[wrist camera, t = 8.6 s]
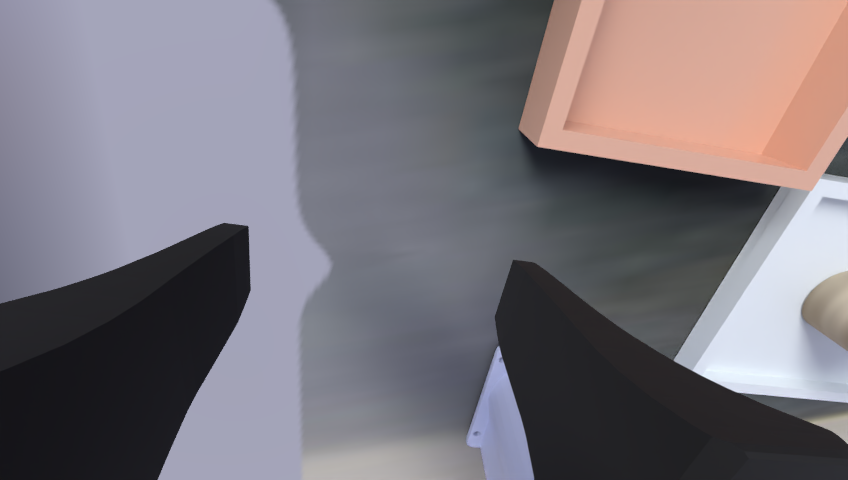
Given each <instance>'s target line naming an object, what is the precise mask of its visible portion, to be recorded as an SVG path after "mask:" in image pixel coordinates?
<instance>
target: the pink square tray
mask: <svg viewBox="0 0 848 480" xmlns="http://www.w3.org/2000/svg"><path fill="white" fill-rule="evenodd" d="M519 130H520V131H521V132H522V133H523V134H524V135H525V136H526V137H527V138H528V139H530V140H531V141H532V142H533V143H534V144H535V145H536V146H537V147H542V148H548V149H554V150H560V151H566V152H572V153H579V154H585V155H591V156H597V157H603V158H609V159H616V160H622V161H628V162H634V163H640V164H647V165H653V166H659V167H665V168H671V169H677V170H684V171H690V172H696V173H702V174H708V175H714V176H721V177H727V178H733V179H739V180H745V181H751V182H758V183H764V184H770V185H776V186H782V187H789V188H795V189H801V190H807V191H812V190H813V188H814V187H815V185H816V184H817V182H818V181H819V179H820V178H821V176H822V175H823V173H824V172H825V170H826V169H827V167H828V166H829V164H830V163H831V161H832V160H833V158H834V156H835V155H836V153H837V152H838V150H839V149H840V147H841V146H842V144H843V143H844V141H845V140H846V138H847V137H848V0H554V2H553V6H552V10H551V13H550V17H549V21H548V24H547V28H546V31H545V35H544V39H543V42H542V46H541V49H540V53H539V57H538V60H537V64H536V67H535V71H534V75H533V78H532V82H531V86H530V89H529V93H528V96H527V100H526V104H525V107H524V111H523V114H522V118H521V122H520V125H519Z"/></svg>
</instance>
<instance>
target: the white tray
mask: <svg viewBox="0 0 848 480" xmlns="http://www.w3.org/2000/svg"><path fill="white" fill-rule="evenodd" d="M845 271H848V178H847V177H841V176H835V175H829V174H823V175H822V176H821V178H820V179H819V181H818V182H817V184H816V185H815V187H814V188H813V190H812V191H807V190H801V189H795V188H789V187H782V186H781V187H780V189H779V190H778V192H777V194H776V195H775V197H774V198H773V200H772V202H771V203H770V205H769V207H768V208H767V210H766V211H765V213H764V215H763V216H762V218H761V220H760V221H759V223H758V224H757V226H756V228H755V229H754V231H753V232H752V234H751V236H750V237H749V239H748V241H747V242H746V244H745V245H744V247H743V249H742V250H741V252H740V254H739V255H738V257H737V258H736V260H735V262H734V263H733V265H732V266H731V268H730V270H729V271H728V273H727V275H726V276H725V278H724V279H723V281H722V283H721V284H720V286H719V288H718V289H717V291H716V292H715V294H714V296H713V297H712V299H711V300H710V302H709V304H708V305H707V307H706V309H705V310H704V312H703V313H702V315H701V317H700V318H699V320H698V322H697V323H696V325H695V326H694V328H693V330H692V331H691V333H690V334H689V336H688V338H687V339H686V341H685V343H684V344H683V346H682V347H681V349H680V351H679V352H678V354H677V356H676V357H675V359H674V360H673V361H675V362H677V363H679V364H680V365H682V366H684V367H686V368H688V369H690V370H692V371H694V372H696V373H697V374H699V375H701V376H703V377H705V378H707V379H709V380H711V381H713V382H715V383H718V384H720V385H722V386H724V387H726V388H728V389H730V390H732V391H735V392H738V393H749V394H760V395H770V396H781V397H792V398H803V399H814V400H825V401H836V402H847V403H848V351H846V350H845V349H844V348H842V347H841V346H839V345H838V344H837V343H835V342H834V341H832V340H831V339H829V338H828V337H827V336H825V335H824V334H822V333H821V332H820V331H818V330H817V329H815V328H814V327H812V326H811V325H810V324H808V323H807V322H806V321H805V320H804V318H803V315H802V308H803V304H804V302H805V300H806V298H807V297H808V295H809V294H810V293H811V292H812V291H813V289H815V288H816V287H817V286H818V285H819V284H820V283H822V282H823V281H825V280H826V279H828V278H830V277H832V276H834V275H836V274H838V273H841V272H845Z"/></svg>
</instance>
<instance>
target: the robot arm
mask: <svg viewBox="0 0 848 480" xmlns="http://www.w3.org/2000/svg"><path fill="white" fill-rule="evenodd" d="M248 232H249V230H248V226H243V225H236V224H228V223H223V224H220V225H217V226H215V227H212V228H210V229H207V230H205V231H203V232H201V233H198V234H196V235H194V236H192V237H190V238H188V239H186V240H183V241H181V242H179V243H177V244H174V245H172V246H170V247H168V248H166V249H163V250H161V251H159V252H157V253H154V254H152V255H149V256H147V257H144V258H142V259H140V260H137V261H134V262H132V263H130V264H127V265H125V266H122V267H120V268H117V269H115V270H112V271H109V272H107V273H104V274H101V275H98V276H95V277H92V278H89V279H86V280H83V281H80V282H77V283H74V284H71V285H67V286H64V287H61V288H58V289H54V290H51V291H47V292H43V293H39V294H35V295H32V296H28V297H24V298H20V299H16V300H12V301H9V302H5V303H1V304H0V480H157V479H158V477H159V475H160V472H161V470H162V468H163V465H164V463H165V460H166V458H167V456H168V454H169V451H170V449H171V447H172V444H173V442H174V440H175V438H176V435H177V433H178V431H179V429H180V426H181V424H182V422H183V420H184V418H185V415H186V413H187V411H188V409H189V407H190V405H191V403H192V401H193V399H194V397H195V396H196V394H197V392H198V390H199V388H200V387H201V385H202V383H203V382H204V380H205V378H206V376H207V375H208V373H209V371H210V369H211V368H212V366H213V364H214V363H215V361H216V359H217V358H218V356H219V354H220V352H221V351H222V349H223V347H224V346H225V344H226V342H227V340H228V339H229V337H230V335H231V333H232V332H233V330H234V328H235V326H236V324H237V323H238V320H239V318H240V316H241V313H242V311H243V309H244V306H245V303H246V300H247V298H248V295H249V293H250V260H249V233H248ZM495 321H496V329H497V336H498V341H499V346H498V347H497V349H496V351H495V354H494V357H493V360H492V363H491V366H490V369H489V372H488V375H487V378H486V381H485V384H484V387H483V390H482V393H481V396H480V399H479V402H478V405H477V408H476V411H475V414H474V417H473V420H472V423H471V425H470V428H469V431H468V434H467V437H466V442H467V445H468V446H470V447H479V448H480V449H481V454H482V460H483V465H484V471H485V476H486V480H848V444H847V443H846V442H845V441H844V440H842V439H841V438H840V437H839V436H838V435H836V434H835V433H833V432H832V431H830V430H827V429H825V428H822V427H820V426H817V425H814V424H812V423H809V422H807V421H804V420H802V419H799V418H797V417H794V416H792V415H789V414H786V413H784V412H781V411H779V410H776V409H774V408H771V407H769V406H766V405H764V404H761V403H759V402H757V401H755V400H752V399H750V398H748V397H746V396H744V395H741V394H739V393H737V392H735V391H732V390H730V389H728V388H726V387H724V386H722V385H720V384H718V383H715V382H713V381H711V380H709V379H707V378H705V377H703V376H701V375H699V374H697V373H696V372H694V371H692V370H690V369H688V368H686V367H684V366H682V365H680V364H679V363H677V362H675V361H673V360H671V359H669V358H668V357H666V356H664V355H662V354H661V353H659V352H657V351H656V350H654V349H652V348H651V347H649V346H648V345H646V344H644V343H643V342H641V341H640V340H638V339H636V338H635V337H633V336H632V335H630V334H629V333H627V332H626V331H624V330H623V329H621V328H620V327H618V326H617V325H615V324H614V323H613V322H611V321H610V320H608V319H607V318H606V317H604V316H603V315H602V314H600V313H599V312H598V311H596V310H595V309H594V308H592V307H591V306H590V305H588V304H587V303H586V302H584V301H583V300H582V299H581V298H579V297H578V296H577V295H576V294H574V293H573V292H572V291H571V290H569V289H568V288H567V287H566V286H564V285H563V284H562V283H561V282H560V281H558V280H557V279H556V278H555V277H553V276H552V275H551V274H549V273H548V272H547V271H546V270H544V269H543V268H541V267H540V266H539V265H537V264H535V263H533V262H526V261H518V260H513V262H512V265H511V268H510V272H509V275H508V278H507V281H506V284H505V287H504V290H503V293H502V296H501V299H500V303H499V306H498V309H497V312H496V315H495ZM501 357H502V358H501ZM500 358H501V359H500Z"/></svg>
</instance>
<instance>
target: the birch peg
mask: <svg viewBox="0 0 848 480" xmlns="http://www.w3.org/2000/svg"><path fill="white" fill-rule="evenodd" d="M802 315H803V318H804V320H805V321H806V322H807V323H808V324H810V325H811V326H812V327H814V328H815V329H817V330H818V331H820V332H821V333H822V334H824V335H825V336H827V337H828V338H829V339H831V340H832V341H834V342H835V343H837V344H838V345H839V346H841V347H842V348H844V349H845V350H846V351H848V271H845V272H841V273H838V274H836V275H834V276H832V277H830V278H828V279H826V280H825V281H823V282H822V283H820V284H819V285H818V286H817V287H816V288H815V289H813V291H812V292H811V293H810V294H809V295H808V297H807V298H806V300H805V302H804V304H803V308H802Z"/></svg>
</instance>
